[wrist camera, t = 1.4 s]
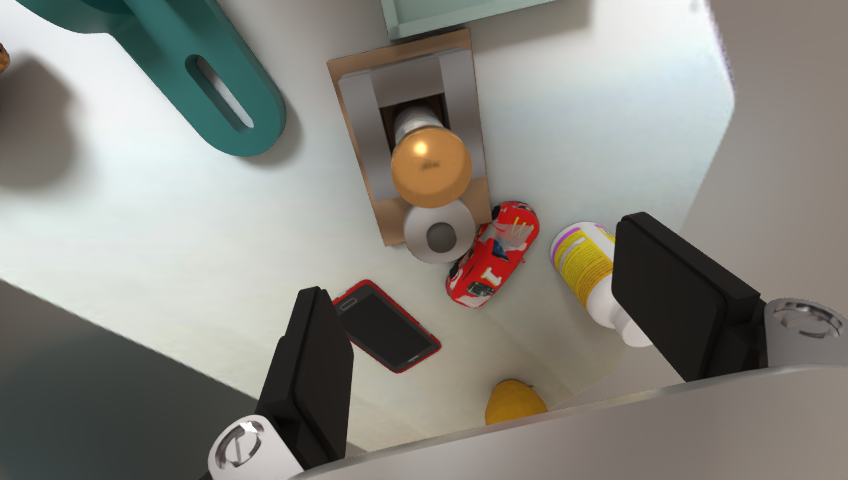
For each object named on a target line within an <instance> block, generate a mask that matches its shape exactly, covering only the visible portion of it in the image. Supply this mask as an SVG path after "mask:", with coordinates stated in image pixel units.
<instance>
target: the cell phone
mask: <svg viewBox="0 0 848 480" xmlns="http://www.w3.org/2000/svg"><path fill="white" fill-rule="evenodd" d="M332 303H333V305H334V307H335V310H336V312H337V314H338V316H339V318H340V321H341V323H342V325H343V327H344V329H345V332H346V334H347V336H348V338H349V340H350V341H351V342H352V343H354V344H355V345H357V346H358V347H359V348H361V349H362V350H363V351H365V352H366V353H367V354H369V355H370V356H371V357H373V358H374V359H375V360H377V361H378V362H380V363H381V364H382V365H384V366H385V367H386V368H388V369H389V370H390V371H392V372H394V373H397V374H398V373H402V372H404V371H406V370H407V369H409V368H411V367H412V366H414V365H416V364H417V363H419V362H421V361H422V360H424V359H426V358H427V357H429V356H431V355H432V354H434V353H436V352H437V351H438V350H439V349H440V348H441V345H440V342H439V341H438V339H436V338H435V337H434V336H433V335H432V334H430V333H429V332H427V331H426V330H425V329H424V328H423V327H422V326H421V325H420V324H419V322H418V321H416V320H415V319H414V318H413V317H412V316H411V315H410V314H409V313H407V312H406V311H405V310H404V309H403V308H402V307H401V306H399V305H398V304H397V303H396V302H395V301H394V300H393V299H392V298H390V297H389V296H388V295H387V294H386V293H385V292H384V291H383V290H381V289H380V288H379V287H378V286H377V285H376V284H375V283H373V282H372V281H370V280H367V279H366V280H362V281H360V282H359V283H357V284H356V285H355V286H354V287H352V288H350V289H349V290H347V291H346V294H344V295H343V296H341V297H340V298H338V297H337V298H336V299H335V300H333V301H332Z"/></svg>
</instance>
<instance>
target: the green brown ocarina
mask: <svg viewBox="0 0 848 480" xmlns="http://www.w3.org/2000/svg"><path fill="white" fill-rule="evenodd" d="M9 64H10V57H9V54H8V53H7V52H6V50H5V48H4V47H3V45H2V44H1V43H0V73H2V72H3V71H4V70H5V69H6V68H7V67H8V66H9Z"/></svg>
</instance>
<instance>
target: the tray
mask: <svg viewBox="0 0 848 480" xmlns="http://www.w3.org/2000/svg"><path fill="white" fill-rule="evenodd" d="M380 1H381V5H382V10H383V14H384V18H385V23H386V27H387V32H388V36H389V39H390V40H394V39H398V38H402V37H406V36H410V35H415V34H419V33H423V32H427V31H431V30H435V29H439V28H443V27H447V26H452V25H456V24H460V23H464V22H468V21H472V20H476V19H480V18H484V17H488V16H493V15H497V14H501V13H505V12H509V11H513V10H517V9H521V8H525V7H530V6H534V5H538V4H542V3H546V2H550V1H554V0H380Z"/></svg>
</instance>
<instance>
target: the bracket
mask: <svg viewBox="0 0 848 480" xmlns="http://www.w3.org/2000/svg"><path fill="white" fill-rule="evenodd" d="M16 1H17V2H19V3H20V4H21V5H23V6H24V7H26V8H27V9H29V10H30V11H32V12H33V13H35V14H37V15H38V16H40V17H42V18H43V19H45V20H47V21H49V22H51V23H53V24H55V25H57V26H59V27H62V28H64V29H67V30H70V31H73V32H77V33H84V34H89V33H108V34H110V35H112V36H113V37H114V38H115V39H116V40H117V41H118V43H119V44H120V45H121V46H122V47H123V48H124V49H125V50H126V52H127V53H128V54H129V55H130V56H131V57H132V58H133V60H134V61H135V62H136V63H137V64H138V65H139V66H140V68H141V69H142V70H143V71H144V72H145V73H146V74H147V76H148V77H149V78H150V79H151V80H152V81H153V82H154V83H155V85H156V86H157V87H158V88H159V89H160V90H161V91H162V93H163V94H164V95H165V96H166V97H167V98H168V99H169V101H170V102H171V103H172V104H173V105H174V106H175V107H176V108H177V110H178V111H179V112H180V113H181V114H182V115H183V116H184V118H185V119H186V120H187V121H188V122H189V123H190V124H191V126H192V127H193V128H194V129H195V130H196V131H197V132H198V133H199V135H200V136H201V137H202V138H203V139H204V140H205V141H206V142H208V143H209V144H210V145H212V146H213V147H215V148H216V149H218V150H220V151H222V152H224V153H227V154H230V155H234V156H243V157H246V156H254V155H257V154H260V153H262V152H264V151H266V150H267V149H268V148H270V147H271V146H272V144H273V143H274V142H275V141H276V140H277V139H278V137H279V136H280V135H281V133H282V131H283V129H284V126H285V122H286V108H285V104H284V101H283V98H282V96H281V94H280V92H279V90H278V89H277V87H276V86H275V84H274V83H273V81H272V80H271V79H270V77H269V76H268V74H267V73H266V72H265V70H264V69H263V67H262V66H261V64H260V63H259V62H258V60H257V59H256V57H255V56H254V54H253V53H252V52H251V50H250V49H249V47H248V46H247V44H246V43H245V42H244V40H243V39H242V37H241V36H240V35H239V33H238V32H237V30H236V29H235V27H234V26H233V25H232V23H231V22H230V20H229V19H228V17H227V16H226V15H225V13H224V12H223V10H222V9H221V7H220V6H219V5H218V3H217V2H216V0H16ZM199 55H200V56H201V57H203V58H204V59H205V60H206V61H207V62H208V63H209V65H210V66H211V67H212V68H213V70H214V71H215V72H216V74H217V75H218V76H219V77H220V79H221V80H222V81H223V83H224V84H225V85H226V87H227V88H228V89H229V90H230V92H231V93H232V94H233V96H234V97H235V98H236V99H237V101H238V102H239V103H240V105H241V106H242V107H243V108H244V110H245V111H246V112H247V114H248V115H249V116H250V117H251V119H252V120H253V123H254V128H250V127H247V126H246V125H244V124H243V123H242V122H241V120H240V119H239V118H238V117H237V115H236V114H235V113H234V112H233V110H232V109H231V108H230V106H229V105H228V104H227V103H226V101H225V100H224V99H223V98H222V96H221V95H220V94H219V93H218V91H217V90H216V89H215V88H214V86H213V85H212V84H211V83H210V81H209V80H208V79H207V78H206V76H205V75H204V74H203V73H202V71H201V70H200V69H199V67H198V64H197V58H198V56H199Z"/></svg>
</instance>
